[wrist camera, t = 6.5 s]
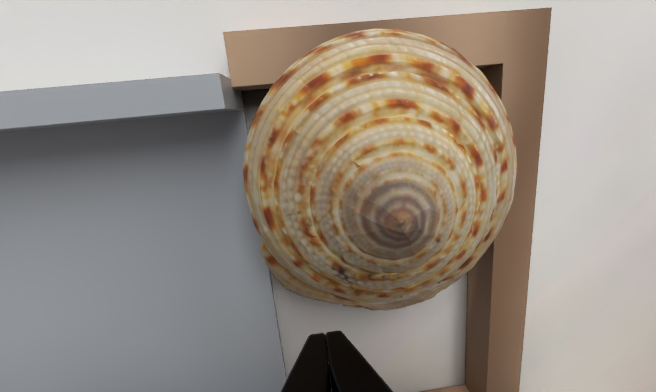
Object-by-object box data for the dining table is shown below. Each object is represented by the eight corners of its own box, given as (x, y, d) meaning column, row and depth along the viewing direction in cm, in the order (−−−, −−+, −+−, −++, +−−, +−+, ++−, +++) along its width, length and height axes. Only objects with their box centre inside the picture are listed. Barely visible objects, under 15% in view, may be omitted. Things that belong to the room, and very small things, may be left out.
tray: (240, 84, 10) (218, 73, 7) (292, 416, 14) (291, 496, 11) (-242, 126, 9) (-487, 132, 6) (-49, 473, 13) (-148, 578, 10)
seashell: (263, 346, 11) (170, 188, 4) (271, 212, 14) (225, 25, 8) (500, 328, 11) (717, 157, 5) (449, 202, 15) (534, 14, 8)
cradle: (514, 22, 11) (551, 7, 9) (492, 403, 15) (515, 436, 13) (234, 44, 10) (223, 32, 8) (295, 437, 14) (295, 476, 13)
